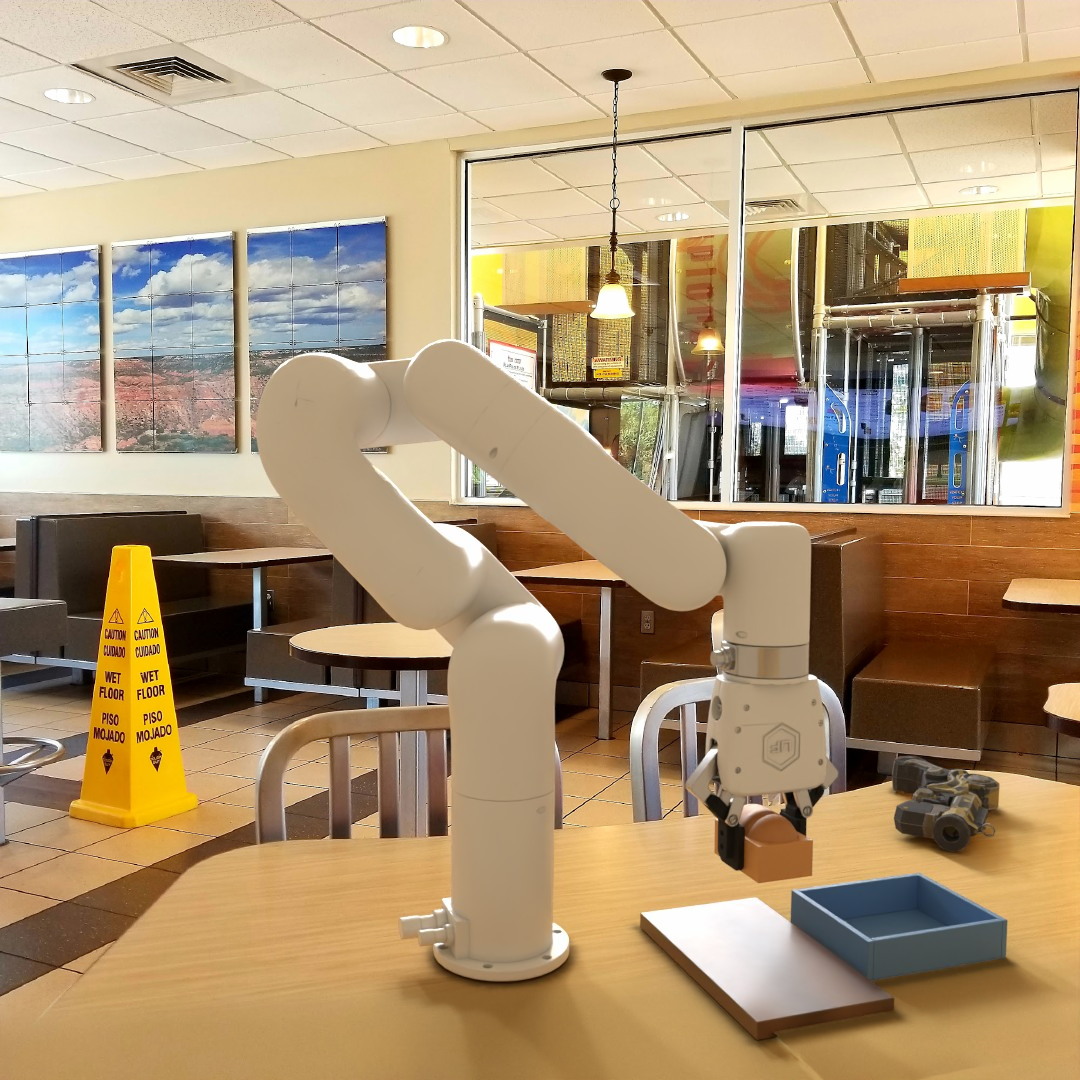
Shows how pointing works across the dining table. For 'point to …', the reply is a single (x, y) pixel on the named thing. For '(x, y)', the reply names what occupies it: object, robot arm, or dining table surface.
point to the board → (763, 966)
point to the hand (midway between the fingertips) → (761, 859)
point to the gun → (942, 802)
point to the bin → (898, 925)
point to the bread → (772, 846)
